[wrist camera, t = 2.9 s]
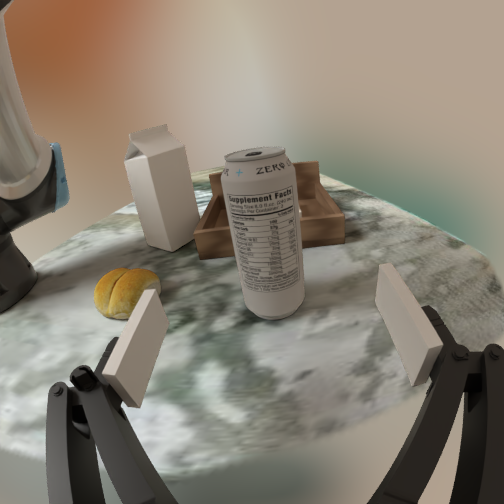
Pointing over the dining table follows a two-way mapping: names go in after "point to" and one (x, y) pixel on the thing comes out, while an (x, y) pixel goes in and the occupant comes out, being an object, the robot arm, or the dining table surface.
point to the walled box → (310, 210)
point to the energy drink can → (265, 229)
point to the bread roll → (123, 291)
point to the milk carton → (162, 188)
